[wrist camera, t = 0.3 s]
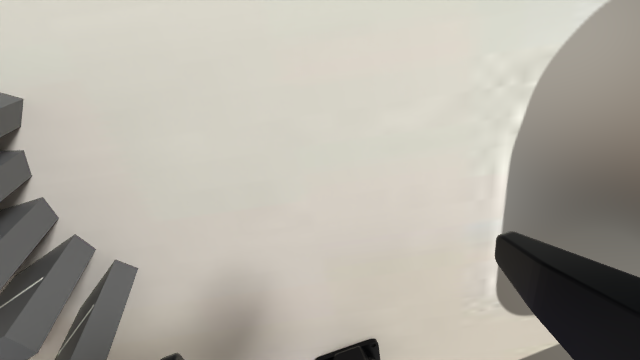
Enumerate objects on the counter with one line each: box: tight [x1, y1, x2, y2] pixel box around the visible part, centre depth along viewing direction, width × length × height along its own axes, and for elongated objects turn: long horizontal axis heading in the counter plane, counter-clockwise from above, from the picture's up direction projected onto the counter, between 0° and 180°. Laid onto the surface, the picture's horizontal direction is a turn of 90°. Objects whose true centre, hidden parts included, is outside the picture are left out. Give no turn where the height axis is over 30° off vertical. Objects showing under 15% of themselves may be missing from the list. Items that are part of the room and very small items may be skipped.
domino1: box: [55, 260, 138, 360], centre depth 21 cm, size 2×5×8 cm, turn 139°
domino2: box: [0, 234, 96, 360], centre depth 19 cm, size 2×5×8 cm, turn 121°
